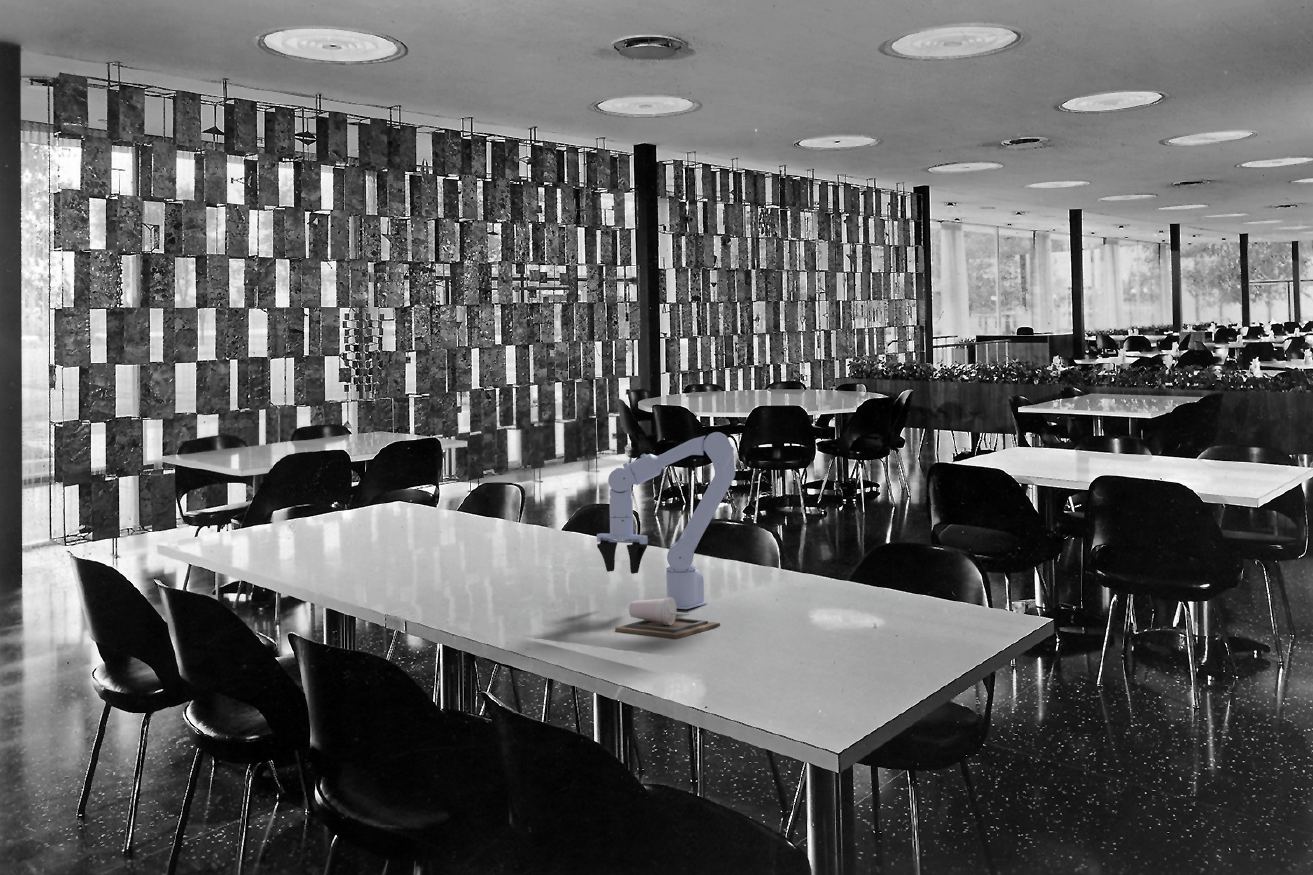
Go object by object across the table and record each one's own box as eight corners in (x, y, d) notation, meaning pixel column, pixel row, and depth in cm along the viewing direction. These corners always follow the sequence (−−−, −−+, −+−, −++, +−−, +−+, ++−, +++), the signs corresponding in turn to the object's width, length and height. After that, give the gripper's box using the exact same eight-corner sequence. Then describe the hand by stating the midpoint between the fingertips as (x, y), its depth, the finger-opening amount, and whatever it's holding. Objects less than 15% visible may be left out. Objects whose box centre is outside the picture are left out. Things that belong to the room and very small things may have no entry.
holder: (660, 619, 250) (660, 613, 250) (720, 626, 240) (720, 620, 240) (615, 631, 236) (615, 624, 236) (676, 638, 226) (676, 632, 226)
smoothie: (624, 606, 238) (682, 609, 232) (634, 589, 243) (691, 592, 237) (630, 628, 241) (687, 632, 235) (640, 611, 246) (696, 614, 240)
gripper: (588, 517, 260) (589, 572, 260) (634, 519, 251) (635, 575, 251) (606, 515, 265) (607, 568, 265) (652, 516, 257) (653, 572, 257)
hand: (622, 572), depth 259 cm, fingers open, 7 cm apart
